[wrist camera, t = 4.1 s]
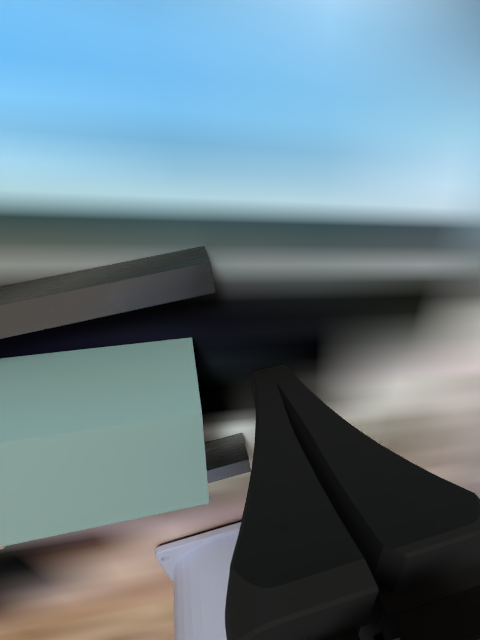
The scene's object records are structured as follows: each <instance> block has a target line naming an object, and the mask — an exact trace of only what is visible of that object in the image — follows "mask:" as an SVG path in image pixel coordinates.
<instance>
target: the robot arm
mask: <svg viewBox="0 0 480 640" xmlns="http://www.w3.org/2000/svg"><path fill="white" fill-rule="evenodd" d="M251 382H252V388H253V395H254V402H255V408H256V427H255V444H254V454H253V462H252V469H251V476H250V482H249V488H248V493H247V498H246V503H245V508H244V512H243V517H242V521H241V522H239V523H235V524H232V525H229V526H225V527H222V528H219V529H215V530H212V531H208V532H205V533H202V534H198V535H195V536H192V537H188V538H185V539H181V540H178V541H175V542H171V543H168V544H164V545H161V546H159V547H157V548H156V549H155V558H156V559H157V560H158V562H159V563H160V565H161V566H162V568H163V569H164V570H165V572H166V573H167V575H168V576H169V577H170V579H171V580H172V582H173V583H174V627H175V640H480V499H479V498H478V496H477V495H476V494H475V493H473V492H471V491H468V490H466V489H464V488H462V487H460V486H458V485H455V484H453V483H451V482H449V481H447V480H445V479H442V478H440V477H438V476H436V475H434V474H432V473H430V472H428V471H426V470H424V469H423V468H421V467H419V466H417V465H415V464H413V463H411V462H409V461H408V460H406V459H404V458H403V457H401V456H399V455H397V454H396V453H394V452H392V451H391V450H389V449H387V448H385V447H384V446H382V445H380V444H379V443H377V442H376V441H374V440H373V439H371V438H370V437H368V436H367V435H365V434H364V433H362V432H361V431H359V430H358V429H356V428H355V427H354V426H352V425H351V424H350V423H348V422H347V421H346V420H344V419H343V418H342V417H340V416H339V415H338V414H337V413H335V412H334V411H333V410H332V409H330V408H329V407H328V406H327V405H326V404H324V403H323V402H322V401H321V400H320V399H319V398H318V397H317V396H315V395H314V394H313V393H312V392H311V391H310V390H309V389H308V388H307V387H306V386H305V385H304V384H303V383H302V382H301V381H300V380H299V379H298V378H297V377H296V376H295V375H294V374H293V373H292V372H291V371H290V370H289V369H288V368H287V366H285V365H284V364H283V365H278V366H274V367H270V368H266V369H262V370H258V371H254V372H252V373H251Z"/></svg>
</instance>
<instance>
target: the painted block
mask: <svg viewBox="0 0 480 640" xmlns="http://www.w3.org/2000/svg"><path fill="white" fill-rule="evenodd" d="M204 504H209V494H208V481H207V469H206V457H205V445H204V432H203V420H202V409H201V402H200V394H199V387H198V379H197V372H196V364H195V357H194V349H193V341H192V338H184V339H175V340H165V341H156V342H147V343H138V344H129V345H120V346H111V347H101V348H92V349H83V350H74V351H65V352H56V353H46V354H37V355H28V356H19V357H10V358H1V359H0V545H1V546H7V545H12V544H17V543H22V542H26V541H31V540H36V539H41V538H46V537H50V536H55V535H60V534H65V533H69V532H74V531H79V530H84V529H89V528H93V527H98V526H103V525H108V524H113V523H117V522H122V521H127V520H132V519H137V518H141V517H146V516H151V515H156V514H161V513H165V512H170V511H175V510H180V509H185V508H189V507H194V506H199V505H204Z"/></svg>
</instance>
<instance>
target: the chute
mask: <svg viewBox="0 0 480 640" xmlns="http://www.w3.org/2000/svg"><path fill="white" fill-rule="evenodd" d="M210 293H215V287H214V282H213V277H212V272H211V267H210V262H209V259H208V256H207V253H206V250H205V247H204V246H203V247H198V248H193V249H188V250H183V251H178V252H173V253H167V254H162V255H157V256H152V257H147V258H142V259H137V260H132V261H127V262H122V263H117V264H112V265H107V266H102V267H97V268H92V269H87V270H82V271H77V272H72V273H67V274H62V275H57V276H52V277H47V278H42V279H37V280H32V281H27V282H22V283H17V284H12V285H7V286H2V287H0V339H2V338H7V337H11V336H16V335H21V334H25V333H30V332H34V331H39V330H44V329H48V328H53V327H58V326H62V325H67V324H71V323H76V322H81V321H85V320H90V319H95V318H99V317H104V316H109V315H113V314H118V313H122V312H127V311H132V310H136V309H141V308H146V307H150V306H155V305H159V304H164V303H169V302H173V301H178V300H183V299H187V298H192V297H197V296H201V295H206V294H210ZM204 445H205V457H206V469H207V481H208V483H211V482H214V481H218V480H222V479H225V478H229V477H232V476H236V475H239V474H243V473H247V472H250V471H251V468H250V463H249V458H248V454H247V450H246V446H245V442H244V439H243V435H242V433H241V434H237V435H233V436H230V437H226V438H222V439H218V440H215V441H211V442H207V443H204ZM5 547H6V546H1V545H0V549H3V548H5Z"/></svg>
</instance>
